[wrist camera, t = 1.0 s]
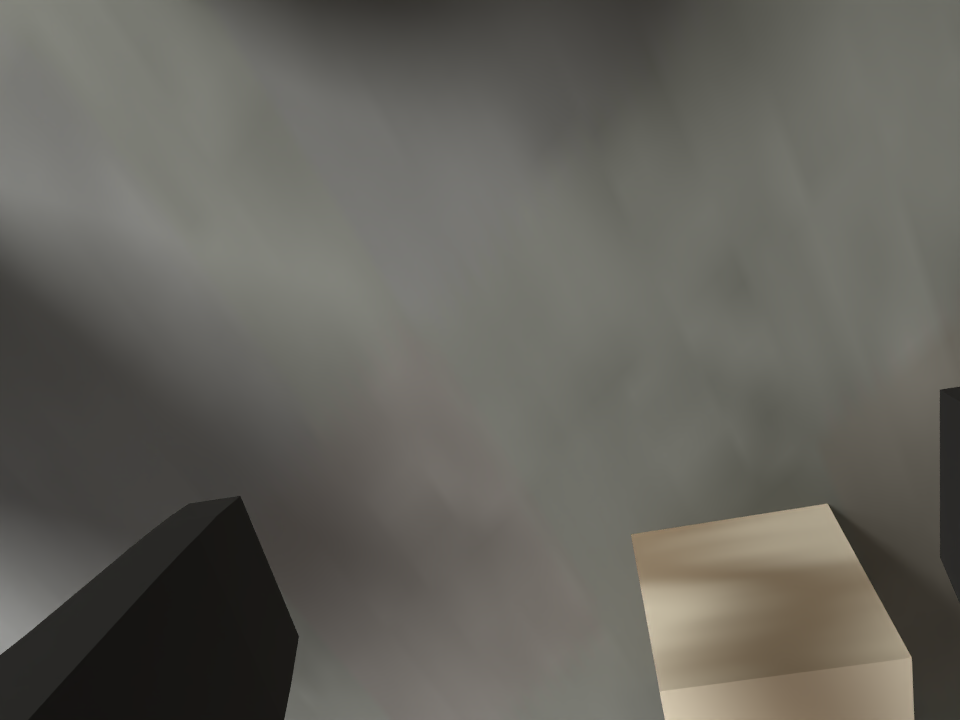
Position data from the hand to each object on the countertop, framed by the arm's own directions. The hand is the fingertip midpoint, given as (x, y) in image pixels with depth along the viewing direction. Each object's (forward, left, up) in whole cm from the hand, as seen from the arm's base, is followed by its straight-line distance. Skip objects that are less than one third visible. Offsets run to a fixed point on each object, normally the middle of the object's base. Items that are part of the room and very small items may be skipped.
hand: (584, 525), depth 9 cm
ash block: (-5, -8, -10) cm, 14 cm away
